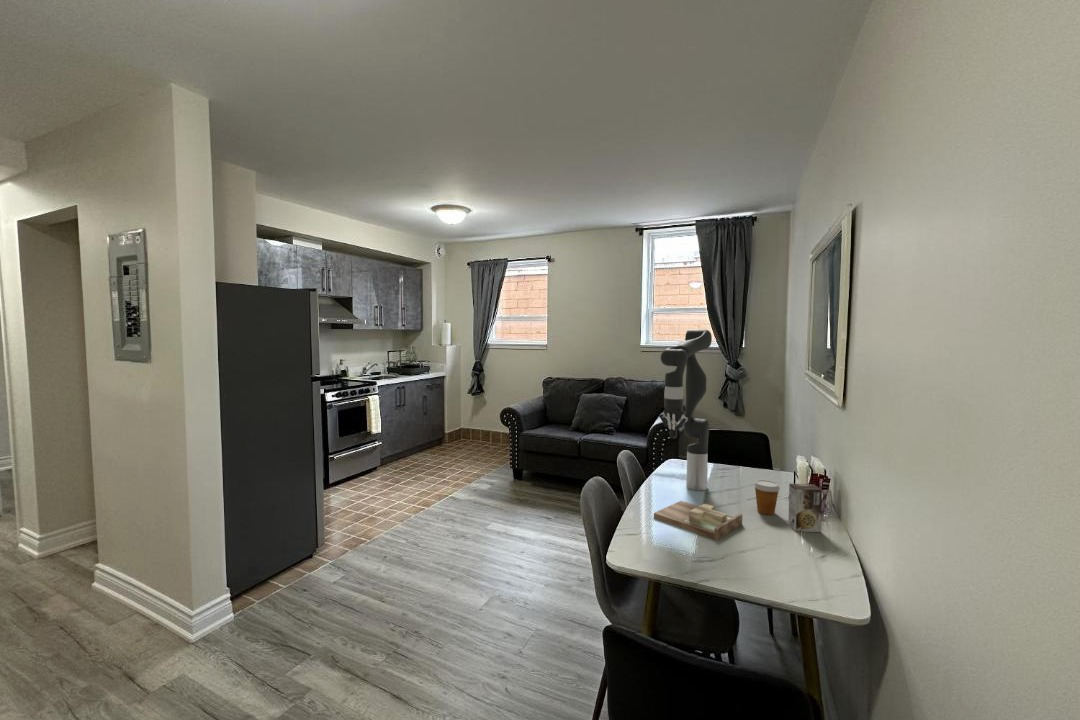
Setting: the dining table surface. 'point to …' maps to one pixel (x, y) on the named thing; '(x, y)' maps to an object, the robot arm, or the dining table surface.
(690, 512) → the t block
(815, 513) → the cracker box
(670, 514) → the board
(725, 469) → the dining table surface
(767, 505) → the disposable coffee cup
